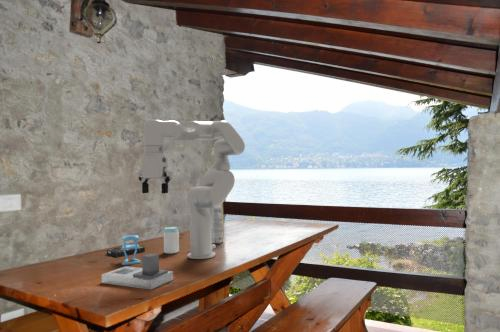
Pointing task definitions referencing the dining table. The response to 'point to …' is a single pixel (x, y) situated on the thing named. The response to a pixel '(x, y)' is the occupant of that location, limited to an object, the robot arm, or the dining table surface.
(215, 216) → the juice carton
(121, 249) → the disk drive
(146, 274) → the flanged block
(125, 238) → the chair
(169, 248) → the can
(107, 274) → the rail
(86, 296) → the dining table surface
